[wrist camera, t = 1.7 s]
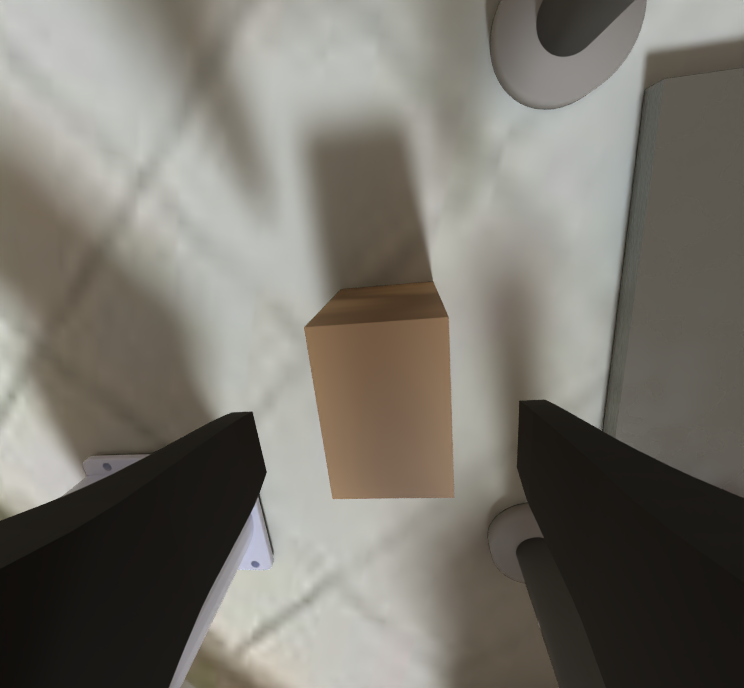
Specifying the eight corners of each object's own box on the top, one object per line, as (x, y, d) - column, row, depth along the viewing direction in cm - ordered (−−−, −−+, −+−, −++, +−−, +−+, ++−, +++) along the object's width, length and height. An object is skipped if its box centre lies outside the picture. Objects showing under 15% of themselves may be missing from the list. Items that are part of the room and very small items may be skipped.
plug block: (356, 409, 18) (332, 498, 12) (341, 289, 16) (304, 327, 10) (438, 405, 17) (454, 497, 11) (433, 281, 15) (448, 316, 10)
